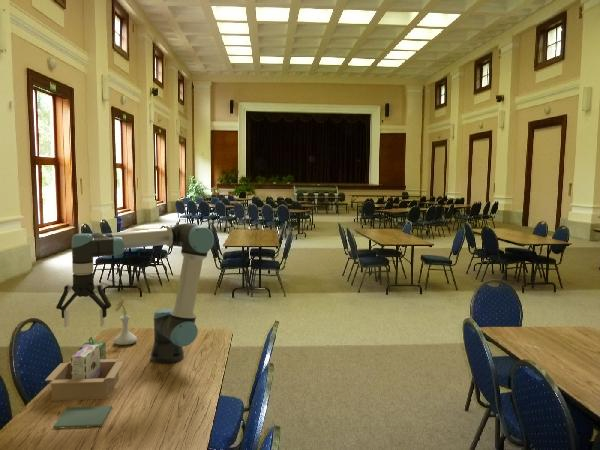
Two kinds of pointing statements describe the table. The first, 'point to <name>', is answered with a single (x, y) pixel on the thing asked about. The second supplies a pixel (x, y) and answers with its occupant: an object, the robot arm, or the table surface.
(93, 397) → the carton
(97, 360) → the candy box
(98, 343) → the chalk box
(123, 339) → the flower in vase
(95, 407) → the mat
